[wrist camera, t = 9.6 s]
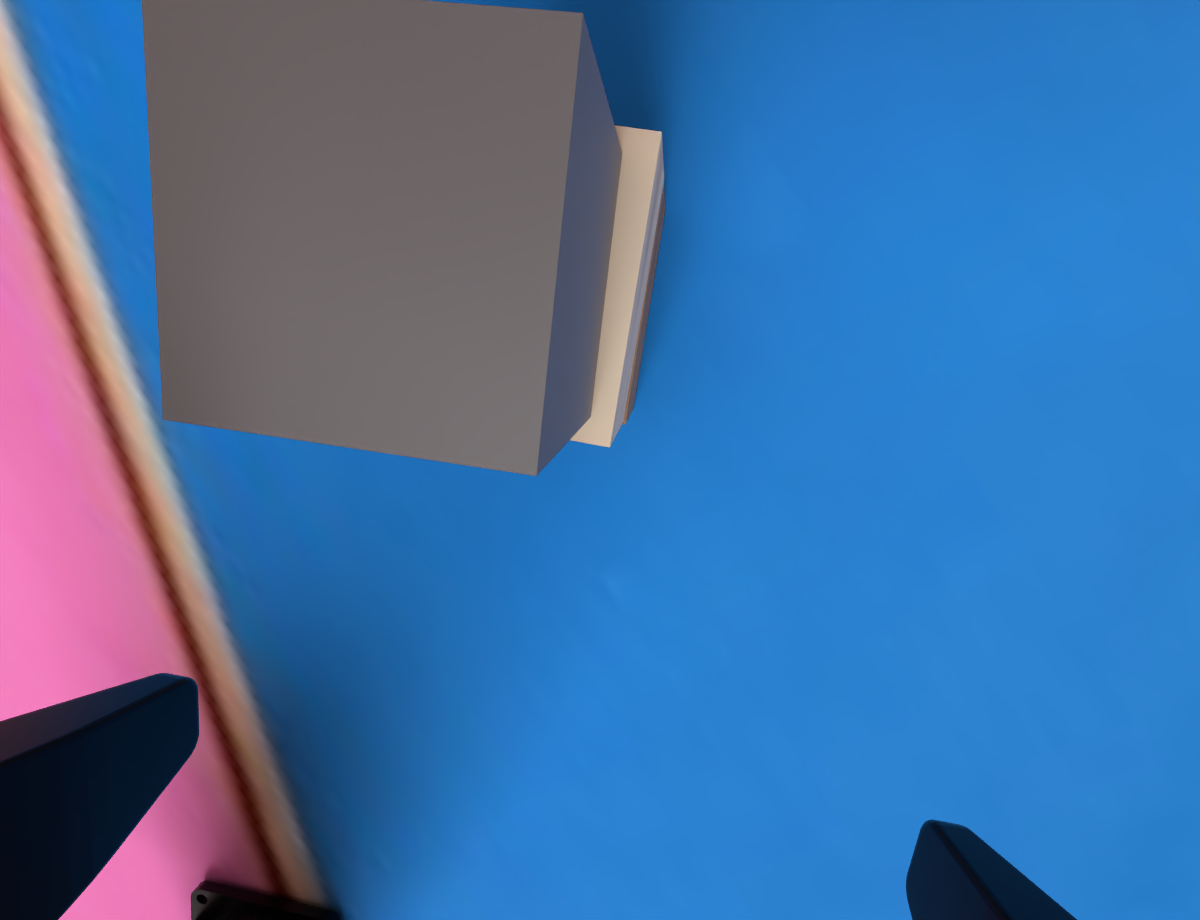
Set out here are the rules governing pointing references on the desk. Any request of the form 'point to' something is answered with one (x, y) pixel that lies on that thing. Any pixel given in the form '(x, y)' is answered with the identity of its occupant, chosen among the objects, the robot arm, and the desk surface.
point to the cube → (380, 223)
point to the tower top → (625, 279)
